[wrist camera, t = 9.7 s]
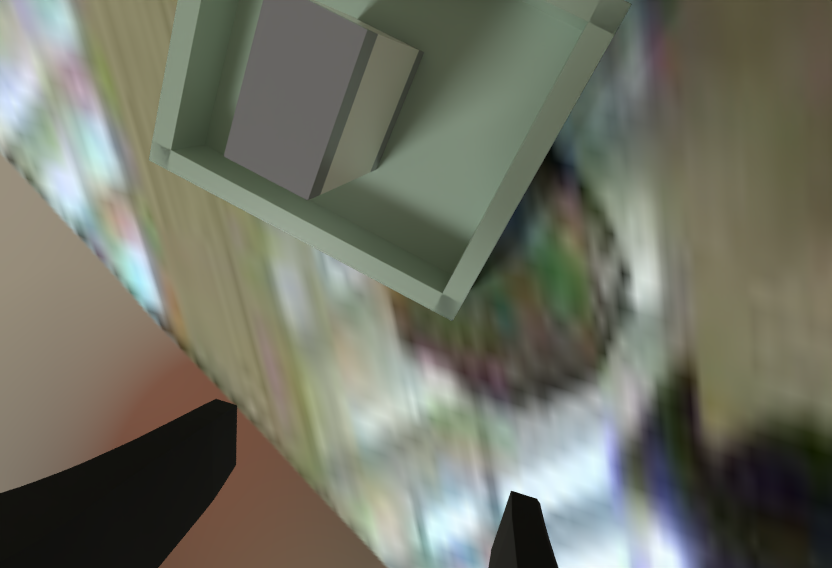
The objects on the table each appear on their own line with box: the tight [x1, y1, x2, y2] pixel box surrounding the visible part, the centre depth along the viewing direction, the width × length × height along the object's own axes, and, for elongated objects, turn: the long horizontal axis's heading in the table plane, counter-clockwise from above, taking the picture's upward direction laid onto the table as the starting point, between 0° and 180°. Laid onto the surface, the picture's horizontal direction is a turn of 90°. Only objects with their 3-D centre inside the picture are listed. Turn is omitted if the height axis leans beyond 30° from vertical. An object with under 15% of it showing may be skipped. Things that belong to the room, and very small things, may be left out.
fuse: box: [224, 0, 424, 200], centre depth 15 cm, size 3×4×6 cm, turn 156°
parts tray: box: [149, 0, 632, 321], centre depth 16 cm, size 13×11×2 cm
